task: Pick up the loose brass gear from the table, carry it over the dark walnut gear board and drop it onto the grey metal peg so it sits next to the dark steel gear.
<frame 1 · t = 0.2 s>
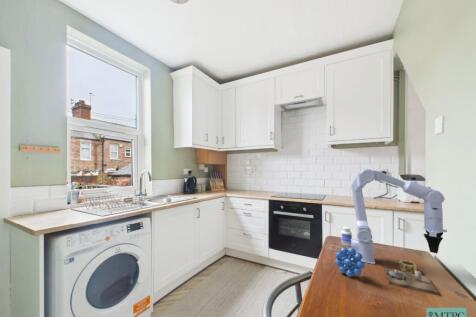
hand: (434, 250, 86), 10 cm above the table, tool pointing down, fingers open, 7 cm apart
gear board: (408, 281, 79), on the table
pill bottle: (346, 244, 118), on the table
grapes: (350, 276, 83), on the table
gear: (407, 270, 88), on the table
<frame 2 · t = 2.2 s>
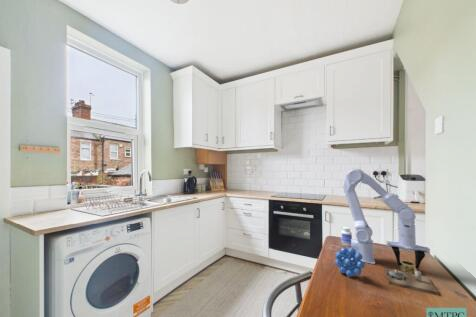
hand: (407, 266, 88), 2 cm above the table, tool pointing down, fingers closed on gear, 6 cm apart
gear: (407, 270, 88), on the table, touching gripper
everything else where it was.
when the fingers open (4 cm above the table, at t = 7.3 s): gear stays where it is, resting on gear board.
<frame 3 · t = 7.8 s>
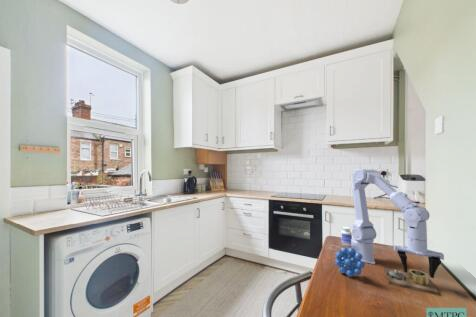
hand: (418, 273, 78), 4 cm above the table, tool pointing down, fingers open, 7 cm apart
gear: (418, 280, 78), point 1 cm above the table, touching gear board
everything else where it was.
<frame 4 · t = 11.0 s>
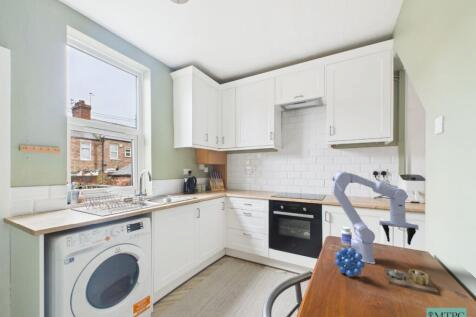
hand: (398, 242, 95), 9 cm above the table, tool pointing down, fingers open, 7 cm apart
nothing on the table moved.
at the end: gear 0.0 cm from the target spot on the gear board, point 1.0 cm above the gear board's base; gear tilted 0°; the gripper is holding nothing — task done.
